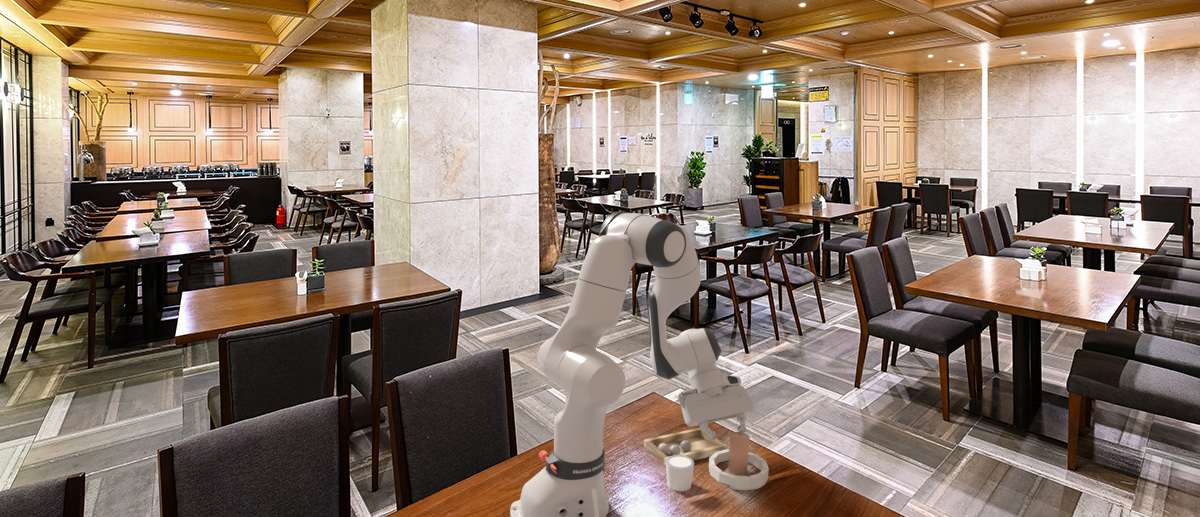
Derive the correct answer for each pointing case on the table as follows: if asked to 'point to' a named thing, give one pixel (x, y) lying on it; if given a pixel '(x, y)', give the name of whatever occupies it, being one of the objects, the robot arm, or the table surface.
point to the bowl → (739, 481)
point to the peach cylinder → (738, 454)
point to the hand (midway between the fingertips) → (728, 435)
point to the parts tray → (696, 437)
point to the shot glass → (679, 472)
